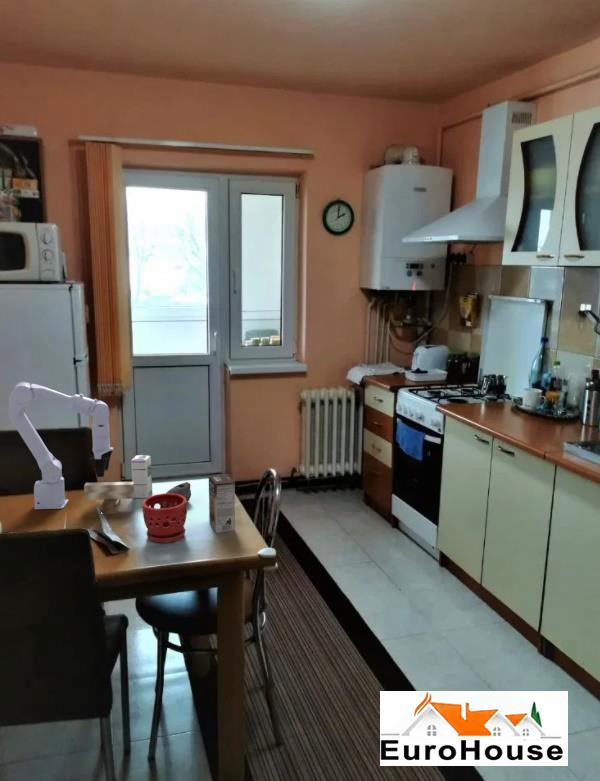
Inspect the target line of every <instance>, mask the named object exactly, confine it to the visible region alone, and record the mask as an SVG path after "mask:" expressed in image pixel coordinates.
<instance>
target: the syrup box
mask: <svg viewBox="0 0 600 781" xmlns="http://www.w3.org/2000/svg"><path fill="white" fill-rule="evenodd" d="M130 462H131V482H134V491H135V496H134V498H136V499H147V498H148V497H151V496H152V494H153V477H152V476H153V475H152V474H153V473H152V472H153V471H152V456H151V455H145V454H140V455H138V454H137V455H135V456H134V457H133V458H132V459H131V460H130ZM134 498H133V499H134Z"/></svg>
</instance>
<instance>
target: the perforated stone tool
mask: <svg viewBox="0 0 600 781" xmlns="http://www.w3.org/2000/svg"><path fill="white" fill-rule="evenodd" d="M166 493H171V494H179V495H182V496H184V497H185V498H186V501H187V503H188V502H190V501H191V500H190V499H191V497H192V491H191V483H189V482H188V481H186V482H183V483H180V484H177V485H176V486H173V487H172V488H170V489H169V490H168V491H166V492H165V493H164V494H166ZM162 504H163V505H166V504H167V502H165V501H164V502H163V503H162ZM175 504H177V502H175ZM169 505H170V506H172V504H169Z"/></svg>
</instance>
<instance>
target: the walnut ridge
mask: <svg viewBox="0 0 600 781" xmlns="http://www.w3.org/2000/svg"><path fill="white" fill-rule="evenodd" d="M121 500H122V499H103V502H102V503H101V506H100V508H99V512H100V511H101V512H102V513H103V514H102V515H116V514H117V511H118V509H119V508H120V506H121V502H122V501H121Z"/></svg>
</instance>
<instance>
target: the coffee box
mask: <svg viewBox="0 0 600 781" xmlns="http://www.w3.org/2000/svg"><path fill="white" fill-rule="evenodd" d="M235 484H236V483H235V481H234V479H232V478H231V476H230V475H228V473H226V474H213V475H211V474H210V475H208V503H209V504H208V507H209V508H208V509H209V510H208V512H209V514H208V515H209V516H208V517H209V524H210V526H211V528H212V529H213V531H214V532H215V533H216V534H217V533H218V534H219V533H220V534H221V533H227V532H234V531H235V525H236V524H235V519H236V518H235V517H236V516H235V514H236V512H235V511H236V504H235V503H236V502H235V499H236V498H235V497H236V496H235V495H236V492H235V490H236V488H235V486H236V485H235Z"/></svg>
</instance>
